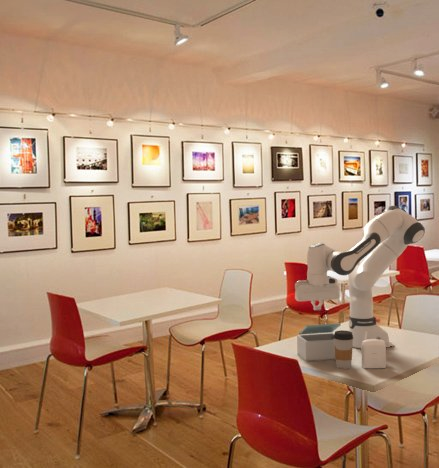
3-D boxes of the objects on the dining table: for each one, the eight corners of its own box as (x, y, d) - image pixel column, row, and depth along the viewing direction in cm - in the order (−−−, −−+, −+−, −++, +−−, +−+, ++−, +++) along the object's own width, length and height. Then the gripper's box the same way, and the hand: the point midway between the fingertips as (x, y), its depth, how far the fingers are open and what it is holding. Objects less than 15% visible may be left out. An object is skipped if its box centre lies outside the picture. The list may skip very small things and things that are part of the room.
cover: (332, 332, 253) (331, 330, 254) (341, 325, 242) (340, 323, 243) (299, 334, 251) (298, 332, 251) (306, 327, 239) (306, 325, 240)
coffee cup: (353, 370, 227) (353, 335, 226) (333, 369, 228) (333, 334, 227) (353, 364, 235) (352, 330, 234) (333, 363, 236) (333, 329, 235)
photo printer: (362, 369, 228) (362, 340, 227) (360, 365, 232) (360, 337, 231) (387, 369, 227) (387, 340, 226) (384, 365, 231) (384, 337, 230)
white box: (333, 351, 254) (333, 332, 254) (343, 358, 242) (343, 339, 242) (297, 353, 251) (297, 335, 251) (305, 361, 239) (305, 341, 239)
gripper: (297, 281, 236) (297, 312, 237) (340, 279, 239) (341, 310, 240) (292, 279, 242) (293, 309, 243) (335, 277, 245) (335, 307, 246)
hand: (317, 309), depth 242 cm, fingers closed
